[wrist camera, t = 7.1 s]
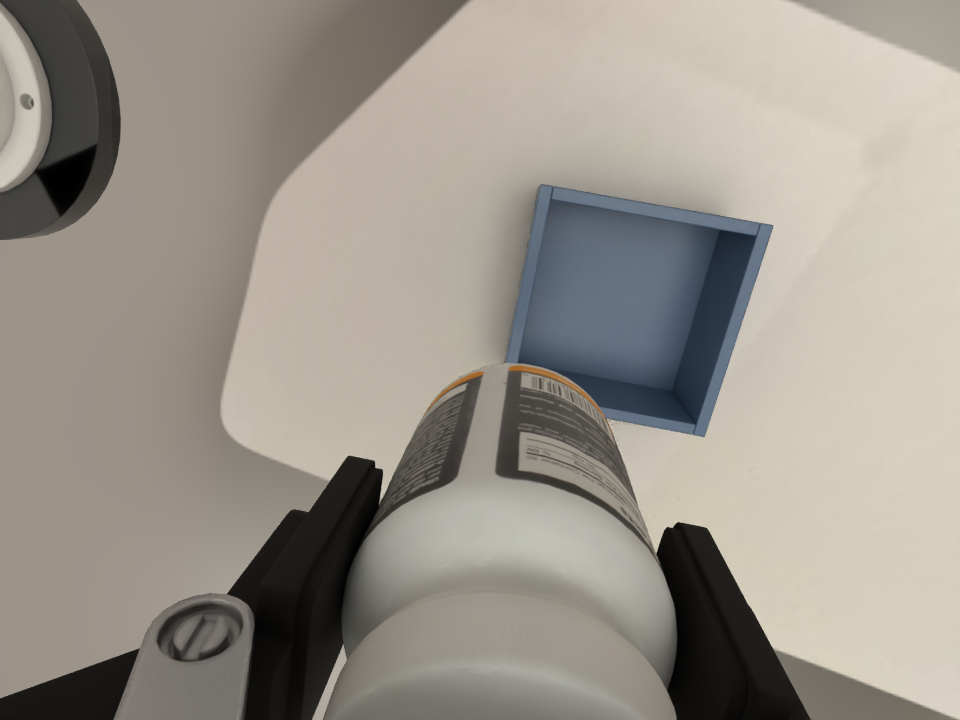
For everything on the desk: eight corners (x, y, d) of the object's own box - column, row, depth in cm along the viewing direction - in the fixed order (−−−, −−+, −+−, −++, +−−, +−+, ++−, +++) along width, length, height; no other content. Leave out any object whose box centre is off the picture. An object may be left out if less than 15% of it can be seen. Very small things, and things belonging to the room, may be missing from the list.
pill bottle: (457, 551, 17) (366, 998, 8) (390, 388, 16) (173, 686, 6) (636, 507, 16) (790, 960, 7) (582, 328, 15) (677, 576, 5)
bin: (503, 364, 33) (498, 398, 28) (538, 185, 30) (540, 183, 25) (675, 397, 33) (704, 437, 28) (729, 219, 30) (774, 225, 24)
